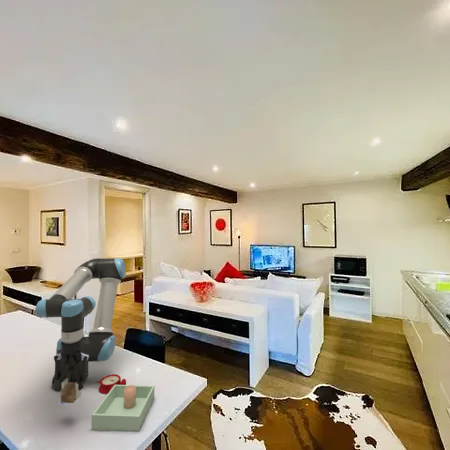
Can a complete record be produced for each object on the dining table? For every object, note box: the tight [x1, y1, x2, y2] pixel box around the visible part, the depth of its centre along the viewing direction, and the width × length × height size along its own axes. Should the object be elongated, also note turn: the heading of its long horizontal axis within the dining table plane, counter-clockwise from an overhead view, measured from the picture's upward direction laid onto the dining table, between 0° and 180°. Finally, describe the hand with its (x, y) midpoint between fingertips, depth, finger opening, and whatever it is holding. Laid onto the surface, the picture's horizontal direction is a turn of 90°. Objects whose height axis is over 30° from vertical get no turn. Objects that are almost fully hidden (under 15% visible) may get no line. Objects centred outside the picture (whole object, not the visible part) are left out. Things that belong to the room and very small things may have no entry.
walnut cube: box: [60, 382, 78, 404], centre depth 104 cm, size 5×5×5 cm
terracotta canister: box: [124, 384, 136, 409], centre depth 113 cm, size 5×5×7 cm
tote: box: [90, 384, 156, 432], centre depth 109 cm, size 19×20×6 cm
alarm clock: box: [95, 373, 127, 395], centre depth 126 cm, size 10×6×15 cm
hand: (71, 396), depth 105 cm, fingers closed on walnut cube, 5 cm apart
